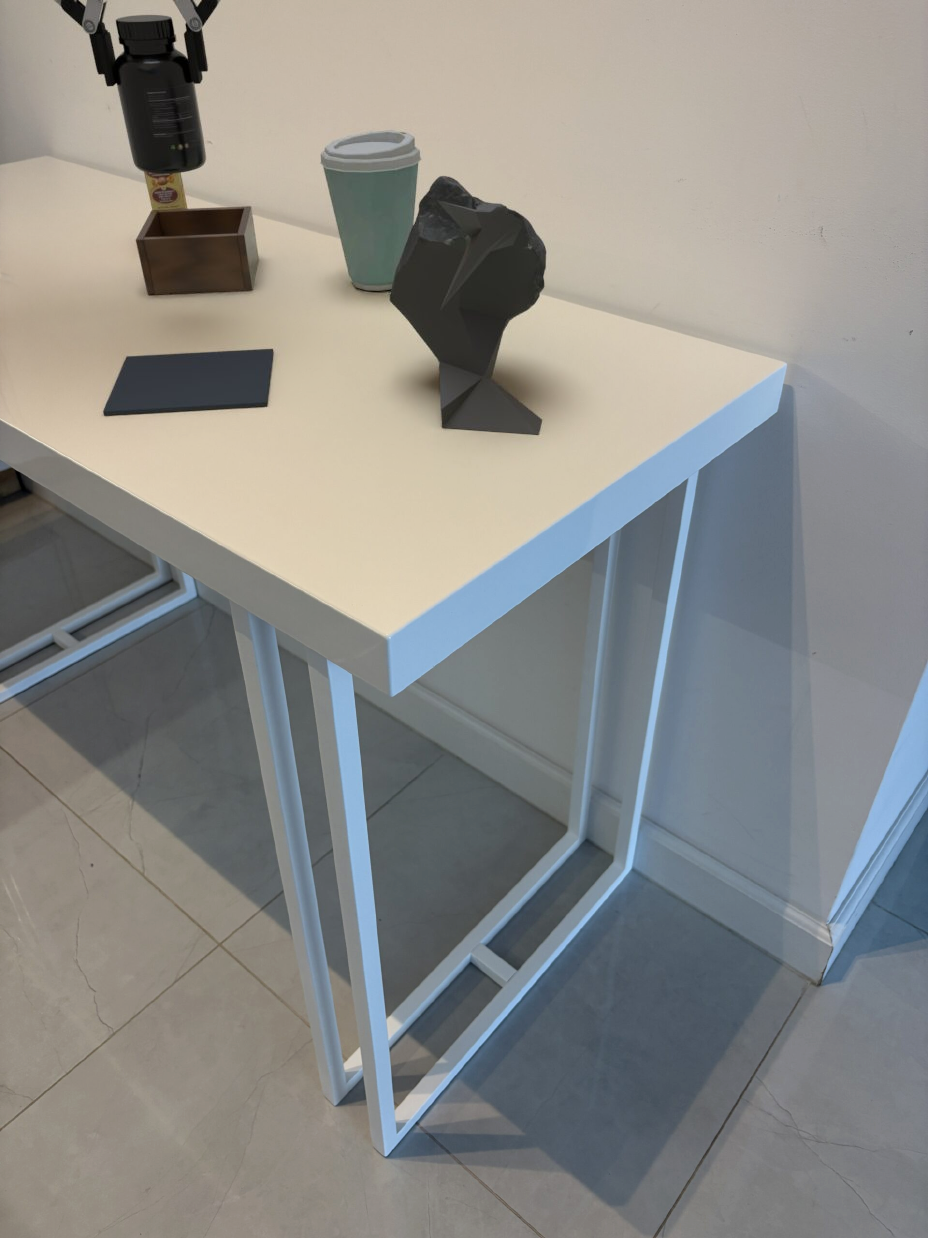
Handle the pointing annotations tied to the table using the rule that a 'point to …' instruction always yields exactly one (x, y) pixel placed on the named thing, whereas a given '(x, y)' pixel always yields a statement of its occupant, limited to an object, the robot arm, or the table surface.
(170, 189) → the candy box
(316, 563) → the table surface
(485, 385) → the dark grey faceted sculpture
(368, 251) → the disposable coffee cup
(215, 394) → the mat
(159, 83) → the supplement bottle
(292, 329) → the table surface
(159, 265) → the box
